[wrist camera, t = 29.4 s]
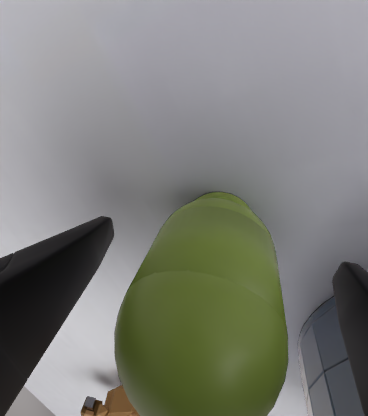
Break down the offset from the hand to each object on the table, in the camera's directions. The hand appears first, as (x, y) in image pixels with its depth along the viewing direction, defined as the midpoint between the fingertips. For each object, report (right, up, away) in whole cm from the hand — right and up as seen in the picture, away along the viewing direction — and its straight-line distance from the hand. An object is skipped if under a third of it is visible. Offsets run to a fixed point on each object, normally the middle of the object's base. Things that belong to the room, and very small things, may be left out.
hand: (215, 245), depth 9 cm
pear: (0, +1, +1) cm, 2 cm away
